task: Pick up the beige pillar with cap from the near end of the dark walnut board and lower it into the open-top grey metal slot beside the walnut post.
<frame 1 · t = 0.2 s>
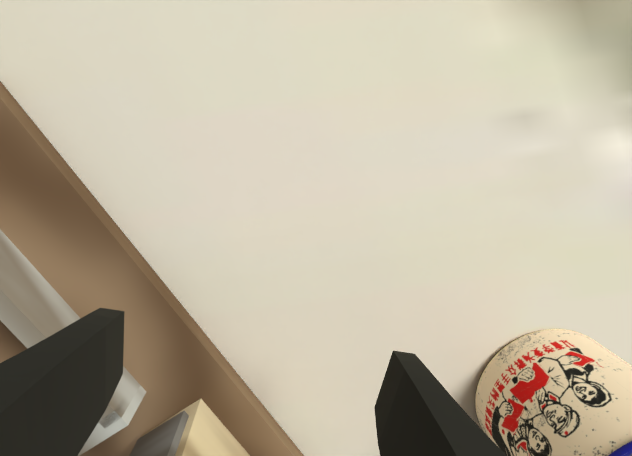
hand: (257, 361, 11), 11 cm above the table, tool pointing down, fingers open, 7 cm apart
teacup with lid: (523, 405, 25), on the table
post board: (67, 384, 22), on the table
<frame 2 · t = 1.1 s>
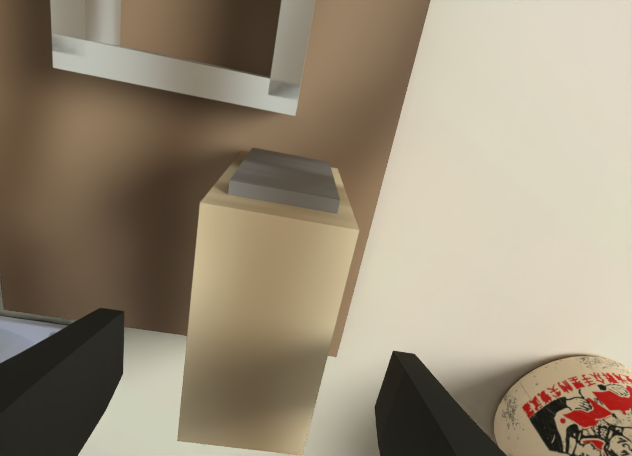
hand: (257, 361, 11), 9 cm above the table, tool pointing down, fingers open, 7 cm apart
teacup with lid: (537, 413, 23), on the table
beige pillar with cap: (275, 246, 18), point 1 cm above the table, touching post board
post board: (209, 21, 15), on the table
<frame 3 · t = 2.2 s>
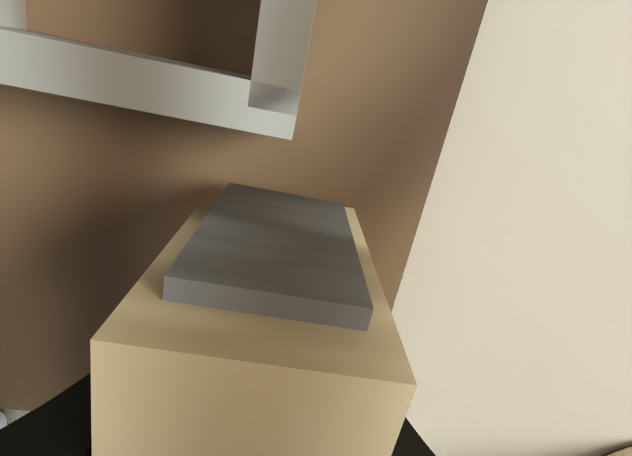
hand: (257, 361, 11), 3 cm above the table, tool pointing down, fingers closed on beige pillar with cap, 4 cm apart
beige pillar with cap: (265, 313, 13), point 1 cm above the table, touching gripper, post board
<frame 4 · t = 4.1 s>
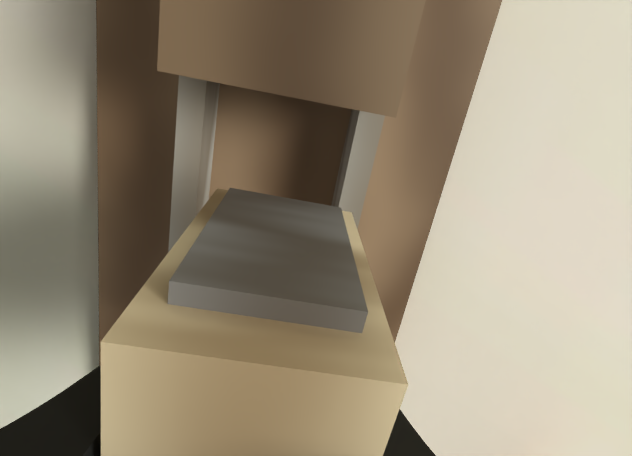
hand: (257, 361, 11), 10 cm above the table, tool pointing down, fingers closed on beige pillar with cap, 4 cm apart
beige pillar with cap: (265, 314, 13), point 8 cm above the table, touching gripper
post board: (263, 254, 21), on the table
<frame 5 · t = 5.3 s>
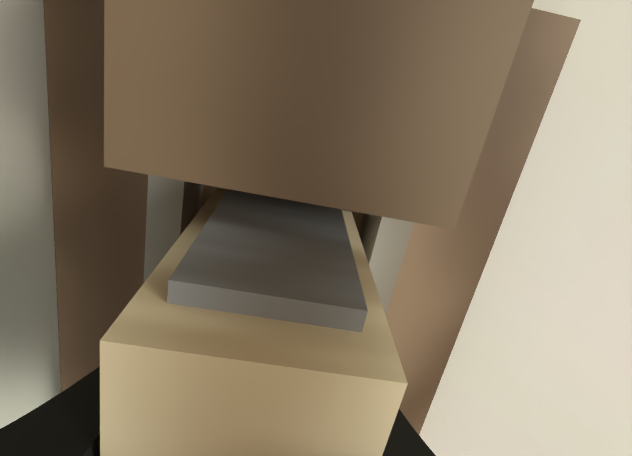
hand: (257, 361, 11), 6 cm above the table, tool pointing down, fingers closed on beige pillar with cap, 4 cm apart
beige pillar with cap: (265, 313, 13), point 3 cm above the table, touching gripper
post board: (261, 334, 17), on the table
when the fingers open (5 cm above the table, at t = 6.0 s): beige pillar with cap drops 1 cm, resting on post board.
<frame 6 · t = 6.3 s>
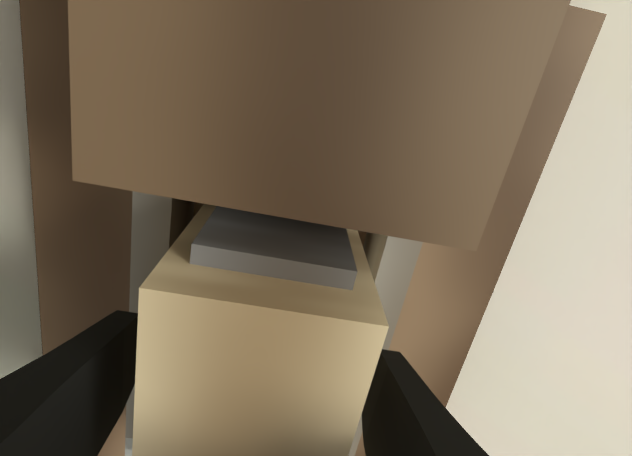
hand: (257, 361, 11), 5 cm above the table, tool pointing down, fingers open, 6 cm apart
beige pillar with cap: (268, 293, 14), point 1 cm above the table, touching post board
post board: (258, 349, 16), on the table
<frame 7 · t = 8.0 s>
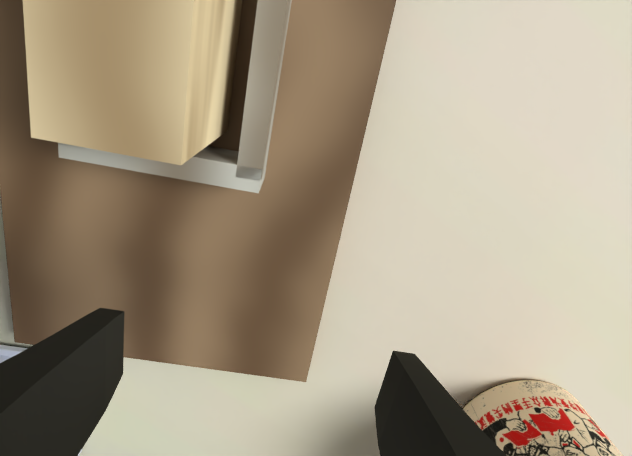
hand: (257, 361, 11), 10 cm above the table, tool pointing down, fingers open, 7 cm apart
teacup with lid: (489, 429, 26), on the table
beige pillar with cap: (189, 22, 16), point 1 cm above the table, touching post board
post board: (190, 104, 18), on the table
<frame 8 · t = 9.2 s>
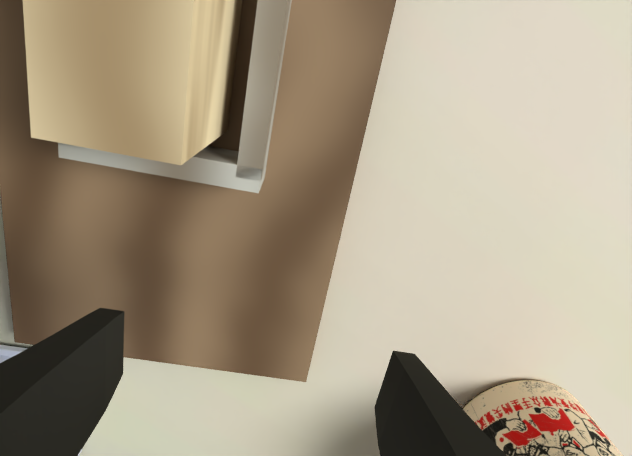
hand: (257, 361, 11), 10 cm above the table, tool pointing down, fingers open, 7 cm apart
teacup with lid: (489, 429, 26), on the table
beige pillar with cap: (189, 22, 16), point 1 cm above the table, touching post board
post board: (190, 104, 18), on the table
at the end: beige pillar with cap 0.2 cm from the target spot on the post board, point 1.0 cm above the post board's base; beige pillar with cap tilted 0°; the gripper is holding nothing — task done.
